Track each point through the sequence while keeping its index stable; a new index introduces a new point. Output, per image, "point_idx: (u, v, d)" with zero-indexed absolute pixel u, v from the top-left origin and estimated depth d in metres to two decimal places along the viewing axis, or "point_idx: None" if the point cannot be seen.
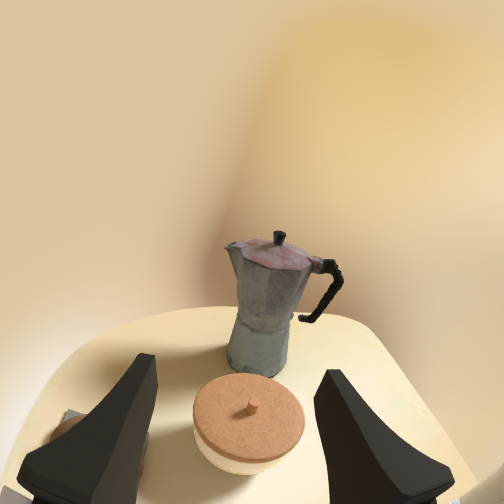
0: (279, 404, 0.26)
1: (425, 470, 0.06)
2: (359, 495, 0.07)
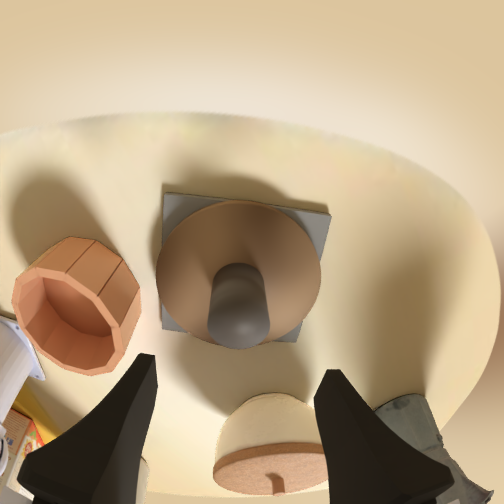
0: None
1: (425, 470, 0.06)
2: (359, 495, 0.07)
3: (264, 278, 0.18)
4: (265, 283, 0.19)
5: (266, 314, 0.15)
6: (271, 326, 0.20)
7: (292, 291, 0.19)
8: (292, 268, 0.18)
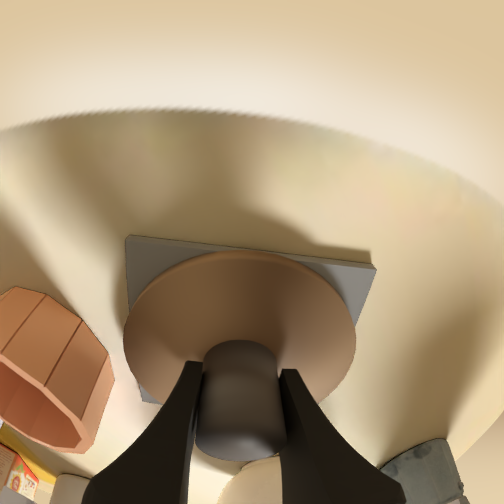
0: None
1: (370, 485, 0.06)
2: (303, 503, 0.06)
3: (277, 357, 0.12)
4: (278, 363, 0.12)
5: (282, 432, 0.09)
6: None
7: (315, 369, 0.13)
8: (317, 343, 0.12)
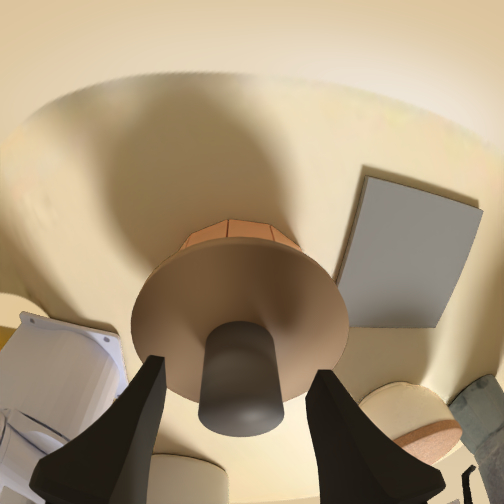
0: None
1: (415, 473, 0.06)
2: (348, 497, 0.07)
3: (275, 339, 0.13)
4: (276, 344, 0.14)
5: (280, 405, 0.10)
6: (281, 389, 0.15)
7: (311, 352, 0.14)
8: (313, 326, 0.13)
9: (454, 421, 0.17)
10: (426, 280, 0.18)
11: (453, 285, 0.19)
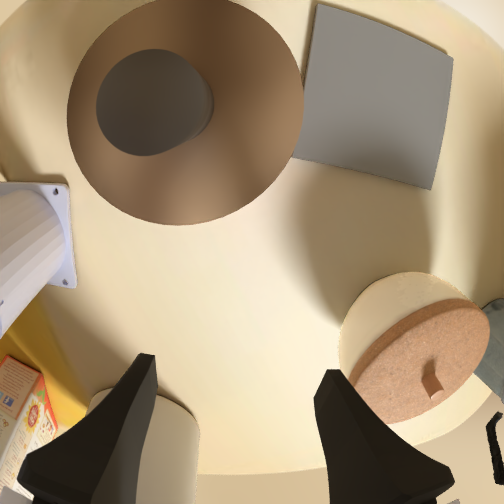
0: (419, 404, 0.16)
1: (425, 470, 0.06)
2: (359, 495, 0.07)
3: (214, 92, 0.11)
4: (216, 100, 0.11)
5: (195, 73, 0.07)
6: (228, 182, 0.12)
7: (260, 116, 0.11)
8: (257, 76, 0.10)
9: None
10: (406, 117, 0.15)
11: (440, 134, 0.16)
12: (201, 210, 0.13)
